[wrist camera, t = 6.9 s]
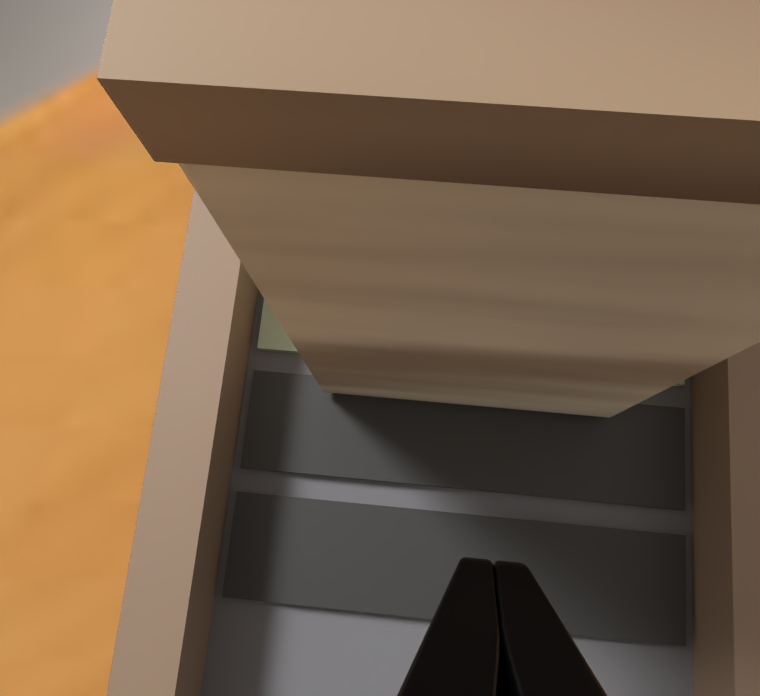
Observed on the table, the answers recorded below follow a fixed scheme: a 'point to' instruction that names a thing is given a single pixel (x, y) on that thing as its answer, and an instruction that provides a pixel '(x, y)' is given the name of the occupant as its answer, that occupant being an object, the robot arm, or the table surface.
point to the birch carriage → (470, 183)
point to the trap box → (422, 517)
